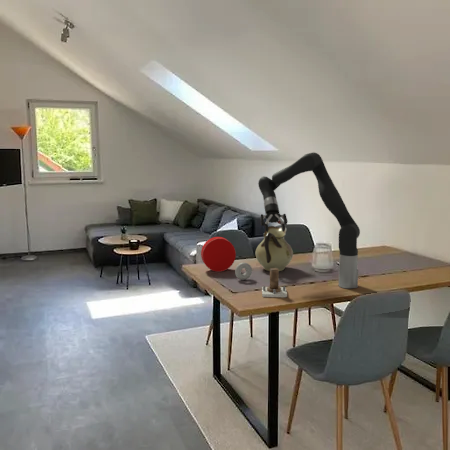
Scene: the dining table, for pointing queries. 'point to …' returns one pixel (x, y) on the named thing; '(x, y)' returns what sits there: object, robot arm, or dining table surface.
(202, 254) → the red round disc
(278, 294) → the locating plate
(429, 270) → the dining table surface
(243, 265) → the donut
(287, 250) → the tied beige sack
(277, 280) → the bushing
